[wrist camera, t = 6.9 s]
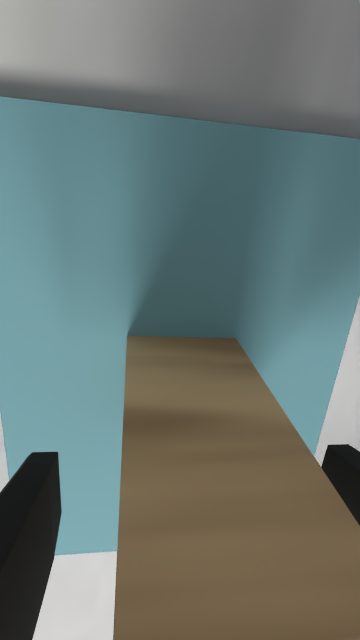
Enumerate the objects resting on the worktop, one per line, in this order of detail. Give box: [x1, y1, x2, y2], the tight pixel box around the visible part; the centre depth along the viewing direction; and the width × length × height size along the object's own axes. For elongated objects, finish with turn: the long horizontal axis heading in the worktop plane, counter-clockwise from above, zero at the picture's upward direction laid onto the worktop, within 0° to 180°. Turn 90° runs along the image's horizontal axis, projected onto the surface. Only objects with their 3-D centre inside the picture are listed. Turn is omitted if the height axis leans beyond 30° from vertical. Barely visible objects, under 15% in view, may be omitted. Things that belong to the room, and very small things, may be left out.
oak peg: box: [113, 336, 360, 640], centre depth 9 cm, size 4×4×9 cm
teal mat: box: [0, 96, 360, 555], centre depth 13 cm, size 18×13×1 cm
